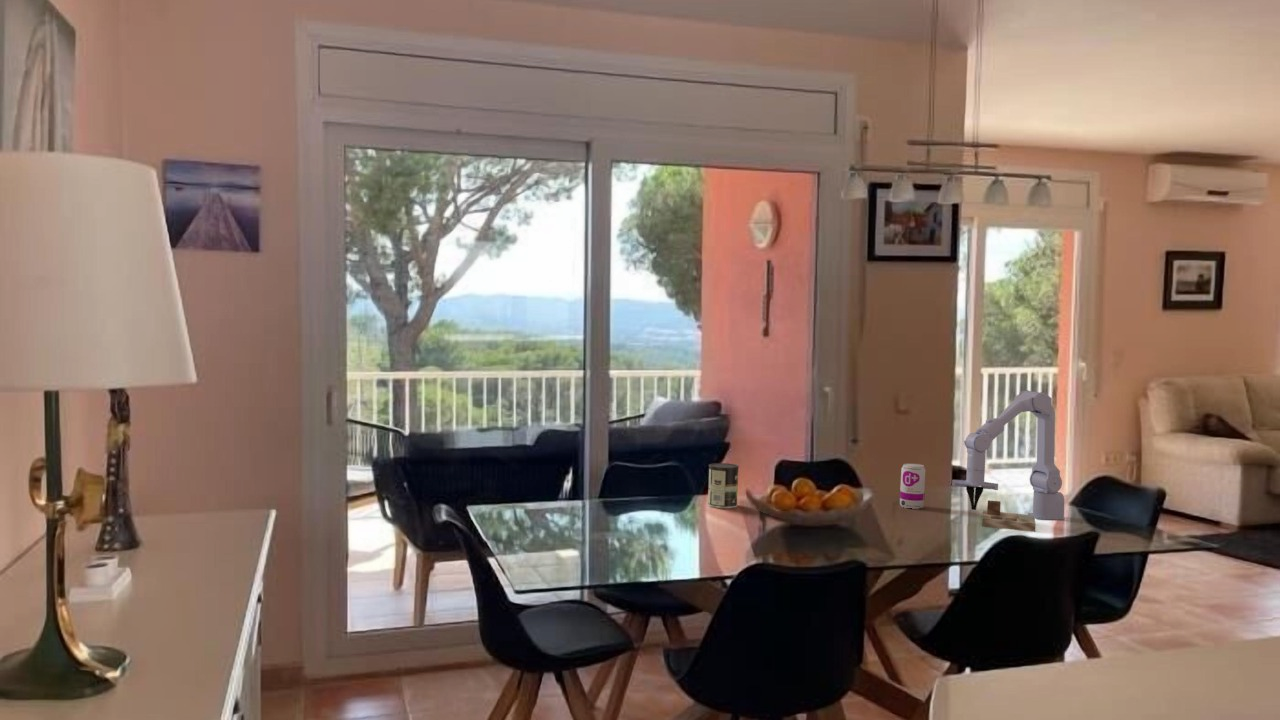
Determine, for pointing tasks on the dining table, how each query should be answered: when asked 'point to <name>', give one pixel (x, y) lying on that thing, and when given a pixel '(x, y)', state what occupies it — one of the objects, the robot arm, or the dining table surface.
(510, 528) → the dining table surface
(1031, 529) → the wooden board
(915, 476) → the supplement can
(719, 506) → the coffee can
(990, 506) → the walnut block
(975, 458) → the robot arm
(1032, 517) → the pad
